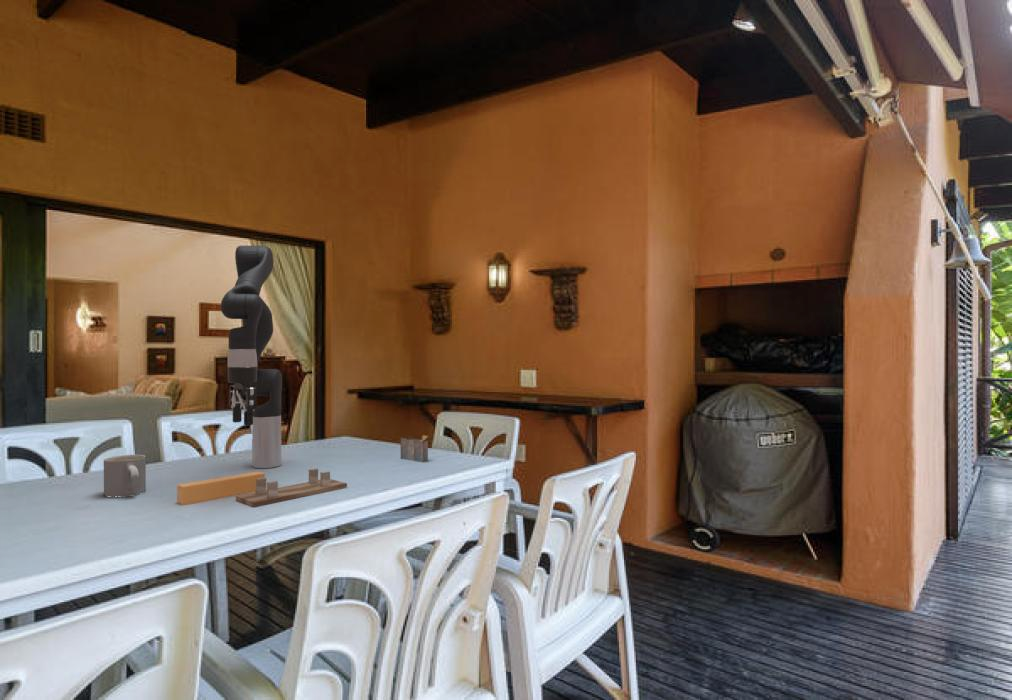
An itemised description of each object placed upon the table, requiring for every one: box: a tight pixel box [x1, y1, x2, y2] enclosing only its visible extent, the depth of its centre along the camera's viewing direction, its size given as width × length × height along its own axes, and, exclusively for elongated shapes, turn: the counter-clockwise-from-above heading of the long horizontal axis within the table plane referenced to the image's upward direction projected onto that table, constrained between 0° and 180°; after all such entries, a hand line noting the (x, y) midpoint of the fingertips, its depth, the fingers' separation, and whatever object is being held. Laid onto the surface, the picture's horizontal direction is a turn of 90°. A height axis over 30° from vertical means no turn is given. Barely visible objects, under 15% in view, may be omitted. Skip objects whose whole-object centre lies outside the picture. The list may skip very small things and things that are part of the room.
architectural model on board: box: [400, 434, 429, 463], centre depth 218 cm, size 11×3×10 cm, turn 53°
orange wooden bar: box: [176, 471, 266, 506], centre depth 167 cm, size 4×22×5 cm, turn 138°
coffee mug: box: [103, 454, 147, 497], centre depth 168 cm, size 13×10×10 cm
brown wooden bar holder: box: [235, 468, 348, 508], centre depth 169 cm, size 10×28×5 cm, turn 139°
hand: (242, 423), depth 168 cm, fingers open, 8 cm apart
